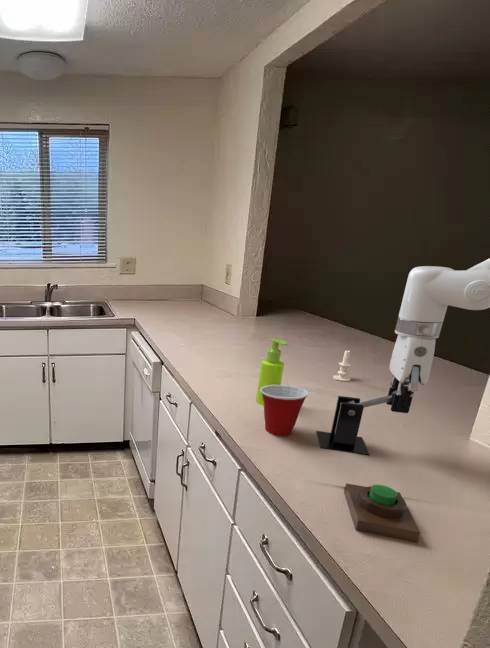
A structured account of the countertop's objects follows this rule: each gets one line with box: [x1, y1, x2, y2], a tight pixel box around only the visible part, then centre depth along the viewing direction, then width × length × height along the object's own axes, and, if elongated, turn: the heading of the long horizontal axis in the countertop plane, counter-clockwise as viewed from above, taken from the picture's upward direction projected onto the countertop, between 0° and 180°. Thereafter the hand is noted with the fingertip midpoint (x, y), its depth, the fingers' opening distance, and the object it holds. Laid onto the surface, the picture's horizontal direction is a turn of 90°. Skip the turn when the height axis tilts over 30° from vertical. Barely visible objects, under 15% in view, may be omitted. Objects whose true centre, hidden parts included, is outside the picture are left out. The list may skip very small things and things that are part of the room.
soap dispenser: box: [255, 337, 289, 407], centre depth 123 cm, size 6×7×20 cm
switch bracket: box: [315, 395, 371, 457], centre depth 101 cm, size 10×9×12 cm
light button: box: [369, 484, 398, 505], centre depth 77 cm, size 4×4×2 cm
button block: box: [343, 482, 421, 544], centre depth 78 cm, size 12×9×4 cm
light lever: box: [340, 389, 398, 408], centre depth 98 cm, size 13×3×3 cm, turn 69°
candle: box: [332, 349, 352, 383], centre depth 145 cm, size 5×5×10 cm
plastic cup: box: [260, 384, 309, 437], centre depth 108 cm, size 11×11×12 cm
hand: (396, 407), depth 96 cm, fingers closed on light lever, 3 cm apart
